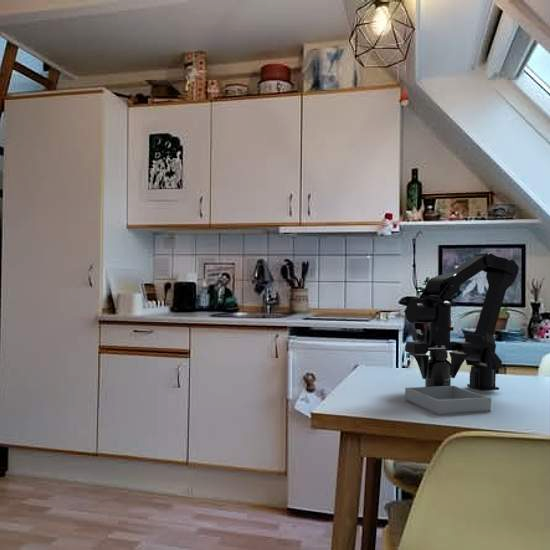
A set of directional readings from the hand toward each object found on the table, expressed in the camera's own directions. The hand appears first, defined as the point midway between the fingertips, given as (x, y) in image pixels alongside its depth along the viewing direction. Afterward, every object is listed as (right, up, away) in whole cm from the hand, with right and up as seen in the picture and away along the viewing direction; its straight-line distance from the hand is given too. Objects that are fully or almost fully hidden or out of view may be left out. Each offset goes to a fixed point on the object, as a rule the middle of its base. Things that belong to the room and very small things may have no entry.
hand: (438, 378), depth 145 cm
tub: (-3, -4, -15) cm, 16 cm away
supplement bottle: (0, -4, 0) cm, 4 cm away
